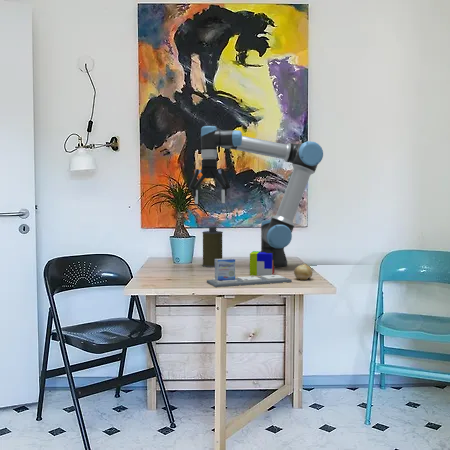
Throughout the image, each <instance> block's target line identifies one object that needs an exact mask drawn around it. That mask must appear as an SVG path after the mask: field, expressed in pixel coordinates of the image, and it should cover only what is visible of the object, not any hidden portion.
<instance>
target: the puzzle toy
mask: <svg viewBox="0 0 450 450" xmlns="http://www.w3.org/2000/svg"><path fill="white" fill-rule="evenodd" d="M274 273H275V267H274V252H264V251H261V250H259V251H257V250H256V251H255V250H253V251H252V252H251V253H250V252H249V276H255V277H261V276H265V275H274Z"/></svg>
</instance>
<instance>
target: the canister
mask: <svg viewBox="0 0 450 450" xmlns="http://www.w3.org/2000/svg"><path fill="white" fill-rule="evenodd" d="M201 233H202V267H204V266H205V267H206V268H215V259H223V231H219V230H218V229H217V226H209V227H208V231H207V230H206V231H205V230H204V231H202V232H201Z"/></svg>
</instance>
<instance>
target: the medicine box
mask: <svg viewBox="0 0 450 450" xmlns="http://www.w3.org/2000/svg"><path fill="white" fill-rule="evenodd" d="M235 278H236V259H235V258H233V257H231V258H222V259H215V267H214V279H216V280H218V281H220V280H235Z"/></svg>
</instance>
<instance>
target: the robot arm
mask: <svg viewBox="0 0 450 450" xmlns="http://www.w3.org/2000/svg"><path fill="white" fill-rule="evenodd" d="M200 145H201V146H200V148H201V150H200V153H201V155H200V156H201V160H200V161H201V165H200V166H201V168H200V169H198V168H196V169H194V174H193V176H192V179H191V181H190V183H189V186H188V189H190V190H192V197H194V204H195V205H198V204H199V190H198V188H199V186H200V185H201V183H202V182H203V181H204V180H205V179H206V180H207V179H214V180H215V181H216V182H217V184H218V185H219V186H220V187H221V191H220V192H221V203H222V204H225V203H226V197H227V196H228V195H227V194H228V192H227V190H228V189H231V185H230V183H229V181H228V179H227V177H226V175H225V171H224V168H221V169H218V159H217V158H218V147H221V148H223V149H225V150H227V149H229V150H235V151H240V152H246V153H249V154H256V155H261V156H265V157H271V158H275V159H281V160H284V162H286V163H289V164H290V163H291V165H292V168H293V170H292V173H291V175H290V178H289V181H288V182H287V186H286V189H285V191H284V193H283V196H282V199H281V202H280V204H279V207H278V209H277V211H276V214H275V215H274V216H272V217H271V219H268V220H262V221H261V225H260V230H261V231H260V234H261V235H260V237H261V238H260V239H261V240H260V242H261V243H260V245H261V247H260V251H264V252H274V268H282V267H287V266H288V259H287V256H286V253H285V248H286V247H288V245H290V244H291V241H292V239H293V234H292V233H293V231H294V229H295V224H294V219H295V216H296V213H297V211H298V208H299V205H300V203H301V200H302V197H303V195H304V193H305V190H306V188H307V185H308V182H309V180H310V177H311V175H313V174H315V172H316V171H317V167H318V165H319V164H320V163H321V162H322V160H323V158H324V151H323V148H322V146H321V145H320V144H319V143H317V142H316V141H311V140H308V141H305V142H303V143H292V142H289V143H287V144H286V143H281V142H275V141H270V140H267V139H266V140H265V139H261V138H255V137H250V136H246V135H243V133H242V131H241V130H232V129H231V130H218V128H217V126H215V125H204V126H202V127H201V128H200ZM200 174H201V176H200V178H199V175H200ZM218 174H219V175H220V176H221V179H222V180H221V179H220V177H219V175H218ZM197 178H199V179H198V181H197Z"/></svg>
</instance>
